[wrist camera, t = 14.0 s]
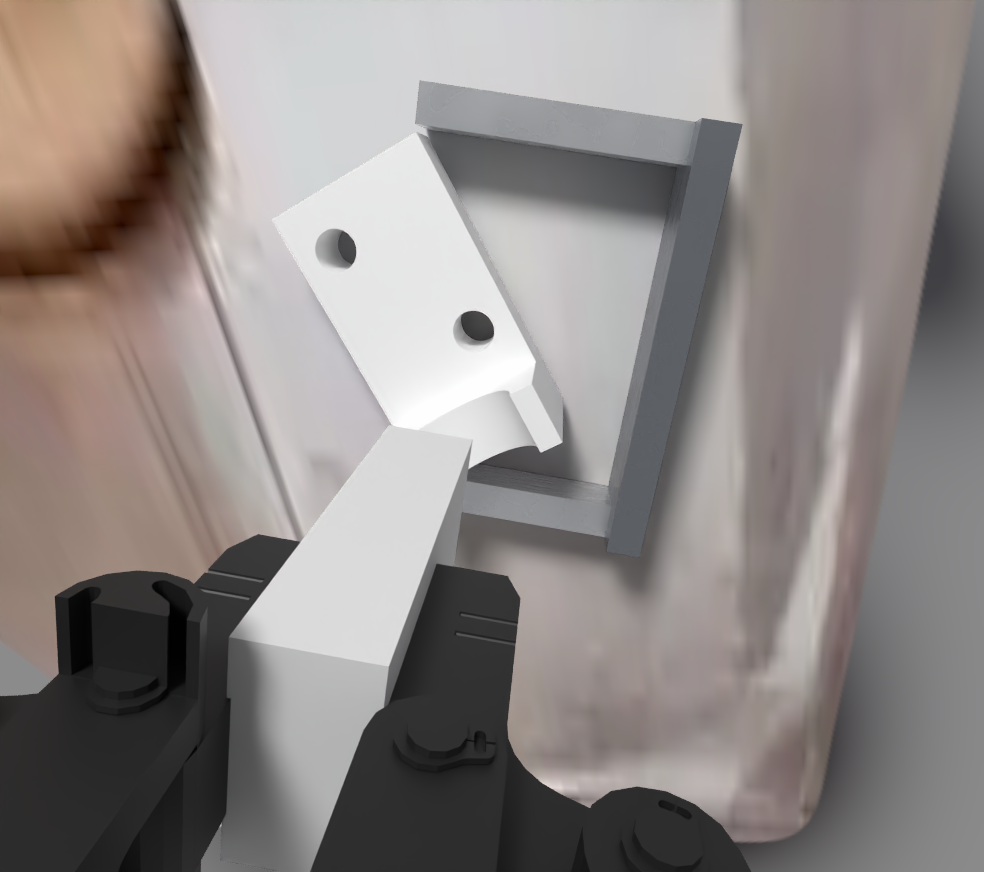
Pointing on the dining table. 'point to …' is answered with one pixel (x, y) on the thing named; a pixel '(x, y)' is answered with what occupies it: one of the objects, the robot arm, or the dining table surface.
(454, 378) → the bracket
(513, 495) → the u-shaped rail frame
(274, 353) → the dining table surface
